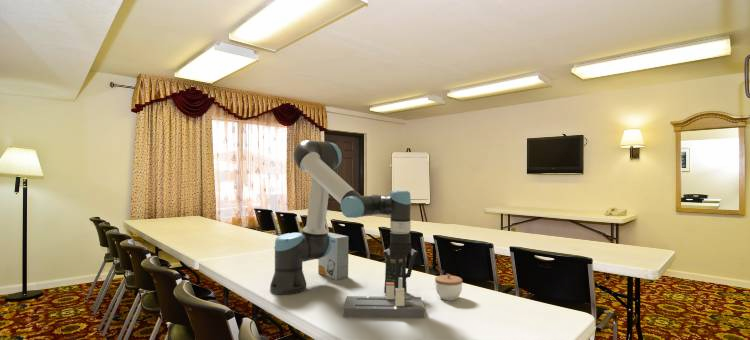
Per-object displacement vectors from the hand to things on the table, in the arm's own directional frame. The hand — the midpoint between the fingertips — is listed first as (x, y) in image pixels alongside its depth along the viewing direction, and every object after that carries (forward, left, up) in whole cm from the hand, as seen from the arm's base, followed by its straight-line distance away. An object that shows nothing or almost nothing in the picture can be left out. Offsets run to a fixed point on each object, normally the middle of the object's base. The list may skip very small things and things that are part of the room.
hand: (400, 295), depth 135 cm
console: (-6, -4, -4) cm, 8 cm away
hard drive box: (-31, +43, -5) cm, 54 cm away
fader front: (0, -7, -1) cm, 7 cm away
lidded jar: (+20, +11, -5) cm, 23 cm away
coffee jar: (-1, +16, -5) cm, 17 cm away
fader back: (-4, 0, -1) cm, 4 cm away
